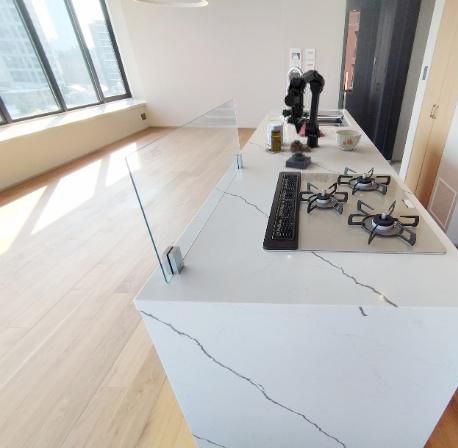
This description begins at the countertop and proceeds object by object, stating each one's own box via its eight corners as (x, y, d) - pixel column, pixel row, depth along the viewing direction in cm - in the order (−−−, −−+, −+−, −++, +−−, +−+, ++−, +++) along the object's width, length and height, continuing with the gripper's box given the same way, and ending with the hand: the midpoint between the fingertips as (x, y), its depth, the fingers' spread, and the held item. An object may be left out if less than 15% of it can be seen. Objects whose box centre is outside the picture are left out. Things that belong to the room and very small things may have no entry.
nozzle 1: (299, 142, 174) (299, 139, 173) (300, 144, 171) (300, 141, 170) (293, 143, 173) (293, 139, 172) (294, 144, 170) (294, 141, 169)
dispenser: (293, 159, 159) (293, 151, 156) (310, 162, 156) (311, 153, 153) (285, 166, 149) (285, 157, 146) (303, 169, 146) (303, 159, 144)
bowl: (330, 150, 175) (331, 133, 170) (339, 144, 187) (340, 128, 182) (355, 154, 169) (357, 137, 164) (363, 147, 181) (365, 131, 176)
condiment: (283, 151, 172) (283, 130, 166) (271, 153, 168) (270, 132, 162) (277, 148, 177) (277, 128, 171) (265, 150, 173) (264, 130, 167)
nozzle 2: (296, 154, 152) (296, 150, 151) (303, 155, 151) (303, 151, 150) (293, 156, 149) (293, 152, 148) (300, 157, 148) (301, 153, 147)
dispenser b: (306, 147, 179) (306, 140, 177) (309, 151, 172) (310, 144, 170) (290, 148, 176) (290, 141, 174) (293, 152, 170) (293, 145, 168)
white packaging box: (274, 146, 180) (273, 126, 173) (267, 144, 184) (266, 124, 178) (283, 144, 184) (283, 124, 177) (276, 142, 188) (276, 122, 182)
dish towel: (317, 128, 224) (317, 125, 222) (323, 136, 204) (324, 132, 202) (296, 129, 222) (296, 125, 220) (300, 137, 202) (300, 133, 200)
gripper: (290, 100, 160) (290, 128, 168) (277, 105, 145) (278, 136, 153) (309, 101, 157) (308, 130, 165) (297, 107, 142) (297, 138, 150)
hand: (298, 133), depth 159 cm, fingers closed
